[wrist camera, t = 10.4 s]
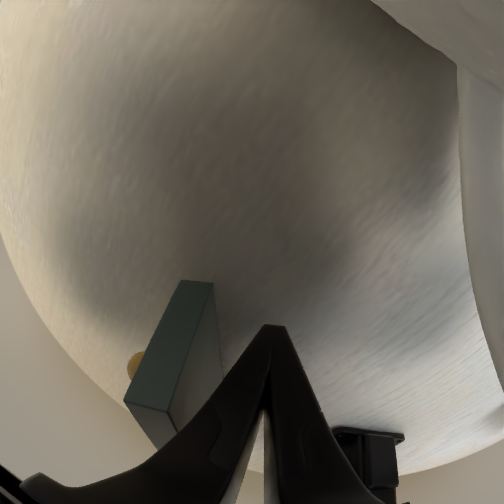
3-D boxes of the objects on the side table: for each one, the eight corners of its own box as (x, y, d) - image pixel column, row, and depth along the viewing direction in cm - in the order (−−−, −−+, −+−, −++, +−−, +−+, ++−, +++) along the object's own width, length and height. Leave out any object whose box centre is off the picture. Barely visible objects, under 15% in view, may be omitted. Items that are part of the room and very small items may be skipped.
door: (230, 440, 17) (218, 502, 13) (198, 434, 18) (183, 495, 13) (213, 282, 10) (167, 412, 6) (152, 275, 10) (86, 388, 6)
